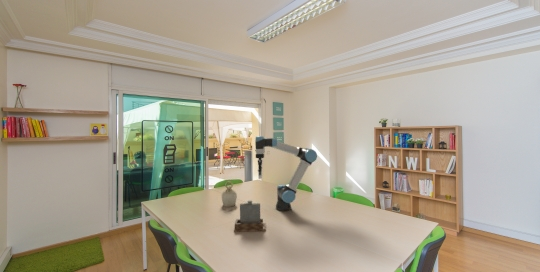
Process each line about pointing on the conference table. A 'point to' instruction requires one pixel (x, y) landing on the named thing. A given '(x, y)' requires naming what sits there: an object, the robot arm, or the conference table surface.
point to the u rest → (249, 226)
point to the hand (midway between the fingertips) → (260, 177)
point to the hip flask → (250, 212)
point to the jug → (229, 196)
